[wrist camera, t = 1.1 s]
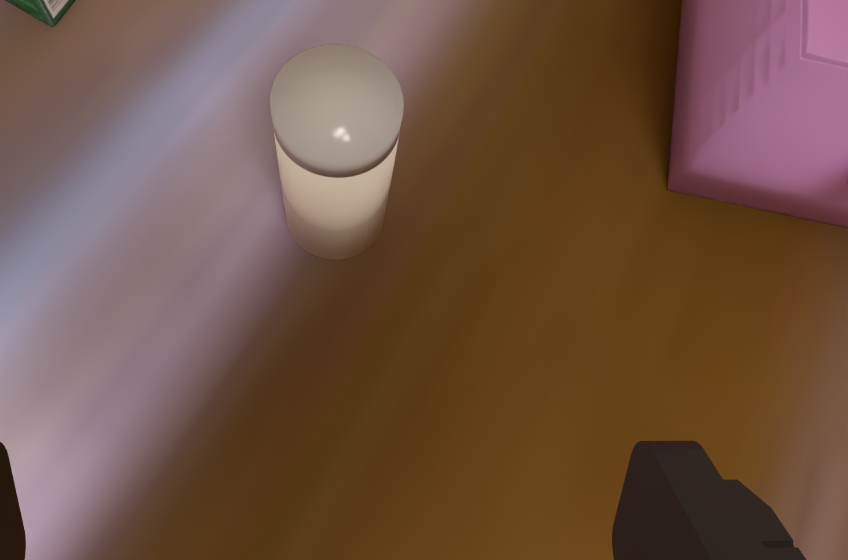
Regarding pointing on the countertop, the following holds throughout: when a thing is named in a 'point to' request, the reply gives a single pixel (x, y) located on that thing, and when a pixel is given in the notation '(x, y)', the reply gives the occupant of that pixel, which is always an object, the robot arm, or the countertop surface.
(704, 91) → the pink storage box
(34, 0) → the coffee box
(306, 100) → the salt shaker
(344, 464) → the countertop surface
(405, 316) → the countertop surface
